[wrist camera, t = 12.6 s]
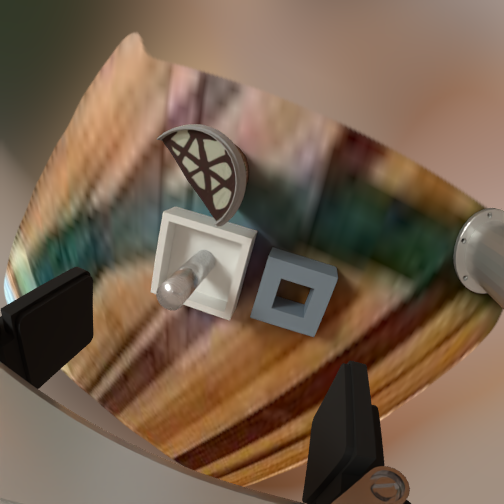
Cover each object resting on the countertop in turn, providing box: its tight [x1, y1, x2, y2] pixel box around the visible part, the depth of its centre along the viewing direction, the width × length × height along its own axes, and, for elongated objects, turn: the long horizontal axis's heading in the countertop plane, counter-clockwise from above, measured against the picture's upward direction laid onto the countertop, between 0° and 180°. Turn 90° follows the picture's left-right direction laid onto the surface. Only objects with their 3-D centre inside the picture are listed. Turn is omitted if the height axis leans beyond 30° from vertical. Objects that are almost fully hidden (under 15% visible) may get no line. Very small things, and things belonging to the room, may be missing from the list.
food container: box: [157, 124, 249, 227], centre depth 37 cm, size 12×6×10 cm, turn 34°
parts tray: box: [151, 206, 258, 321], centre depth 44 cm, size 12×12×4 cm
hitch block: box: [250, 247, 338, 337], centre depth 43 cm, size 9×9×4 cm
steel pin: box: [156, 250, 216, 310], centre depth 39 cm, size 3×3×12 cm
